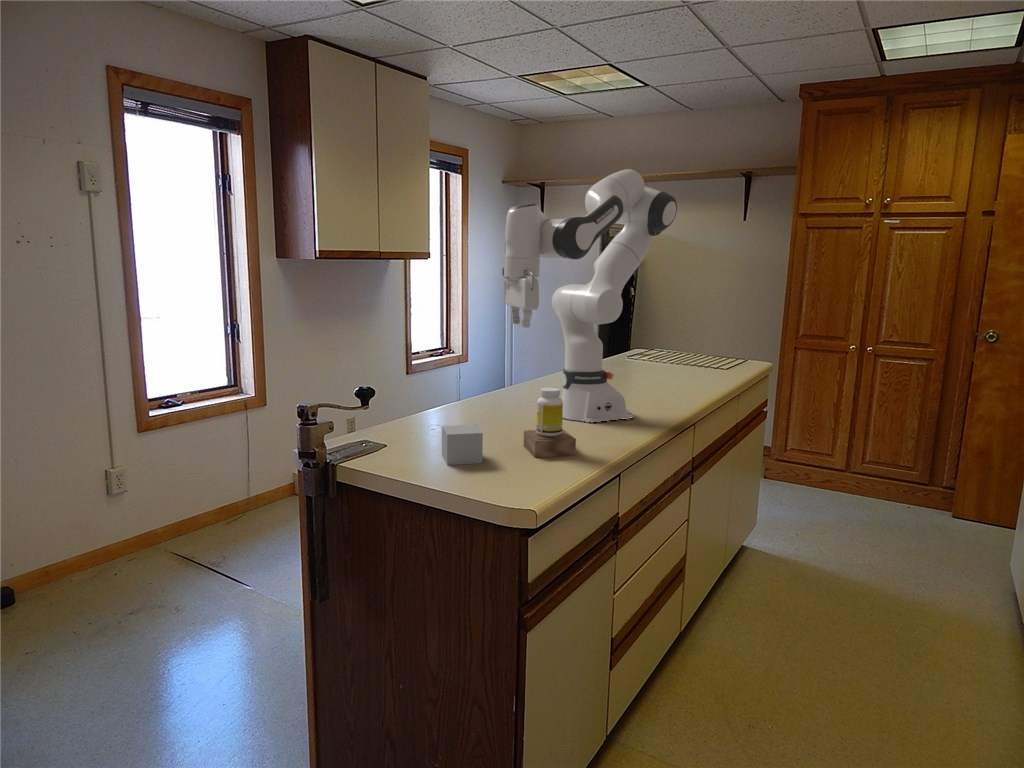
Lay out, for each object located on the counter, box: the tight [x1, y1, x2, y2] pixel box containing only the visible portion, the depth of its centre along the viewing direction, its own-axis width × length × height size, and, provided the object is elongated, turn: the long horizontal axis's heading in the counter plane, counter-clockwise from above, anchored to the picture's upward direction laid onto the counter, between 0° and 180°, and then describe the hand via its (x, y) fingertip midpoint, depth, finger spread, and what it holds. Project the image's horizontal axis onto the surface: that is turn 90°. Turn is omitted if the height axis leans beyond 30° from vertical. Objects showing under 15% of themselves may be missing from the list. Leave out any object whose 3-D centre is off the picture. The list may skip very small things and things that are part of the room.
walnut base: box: [523, 428, 577, 458], centre depth 160 cm, size 10×10×4 cm
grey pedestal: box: [441, 424, 484, 466], centre depth 151 cm, size 8×8×7 cm
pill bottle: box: [536, 387, 563, 437], centre depth 159 cm, size 6×6×11 cm
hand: (520, 325), depth 168 cm, fingers open, 8 cm apart
